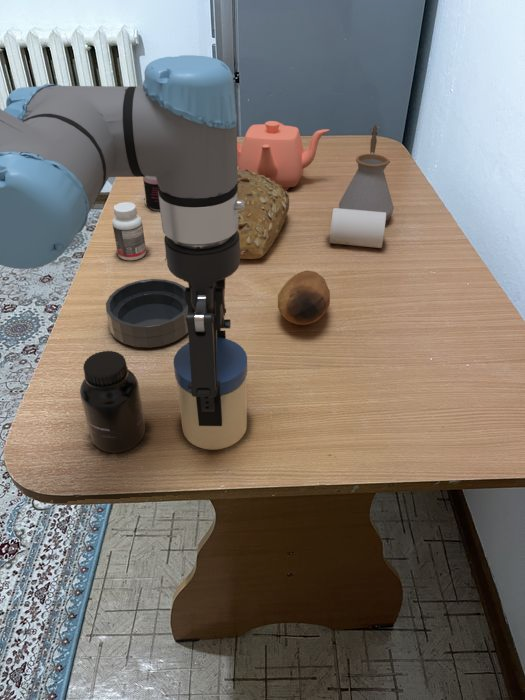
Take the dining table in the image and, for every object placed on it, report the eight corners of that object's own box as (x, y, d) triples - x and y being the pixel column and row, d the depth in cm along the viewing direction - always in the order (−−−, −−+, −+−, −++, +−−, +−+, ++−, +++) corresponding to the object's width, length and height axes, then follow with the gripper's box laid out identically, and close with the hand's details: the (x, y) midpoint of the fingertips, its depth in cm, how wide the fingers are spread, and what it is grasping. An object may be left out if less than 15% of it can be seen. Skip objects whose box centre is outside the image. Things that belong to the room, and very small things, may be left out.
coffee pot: (391, 233, 115) (403, 161, 106) (335, 228, 117) (342, 156, 107) (392, 191, 132) (402, 125, 122) (342, 187, 133) (349, 122, 124)
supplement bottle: (90, 458, 69) (70, 386, 62) (92, 418, 74) (74, 348, 67) (147, 450, 70) (134, 378, 63) (145, 411, 75) (133, 341, 68)
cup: (381, 238, 114) (332, 233, 115) (386, 206, 110) (335, 202, 111) (380, 254, 109) (328, 249, 110) (385, 222, 104) (331, 217, 106)
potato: (297, 314, 98) (338, 292, 96) (294, 347, 86) (340, 323, 84) (275, 279, 96) (315, 255, 94) (267, 308, 84) (314, 281, 82)
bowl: (100, 348, 86) (94, 324, 83) (123, 299, 96) (119, 277, 93) (186, 352, 85) (183, 329, 82) (200, 303, 95) (198, 280, 93)
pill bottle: (115, 250, 109) (107, 202, 103) (142, 245, 111) (136, 198, 105) (121, 263, 105) (112, 215, 99) (149, 258, 107) (142, 210, 101)
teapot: (325, 185, 134) (330, 125, 126) (264, 204, 126) (264, 141, 117) (278, 162, 146) (280, 105, 137) (219, 178, 137) (216, 119, 128)
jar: (176, 447, 71) (168, 385, 64) (188, 400, 77) (182, 340, 71) (243, 451, 70) (242, 390, 64) (249, 404, 77) (249, 343, 70)
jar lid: (245, 397, 64) (245, 385, 63) (169, 396, 64) (168, 384, 63) (248, 349, 71) (248, 337, 70) (179, 348, 71) (178, 336, 70)
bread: (202, 202, 126) (198, 149, 119) (295, 214, 122) (298, 159, 114) (159, 255, 108) (152, 196, 100) (267, 271, 104) (268, 210, 96)
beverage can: (179, 199, 127) (173, 131, 118) (173, 212, 122) (166, 142, 113) (151, 198, 128) (142, 130, 118) (143, 210, 123) (134, 141, 113)
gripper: (233, 291, 48) (239, 464, 62) (243, 188, 64) (247, 343, 79) (144, 290, 48) (171, 463, 62) (178, 187, 65) (193, 343, 79)
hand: (213, 396), depth 70 cm, fingers closed on jar lid, 9 cm apart
